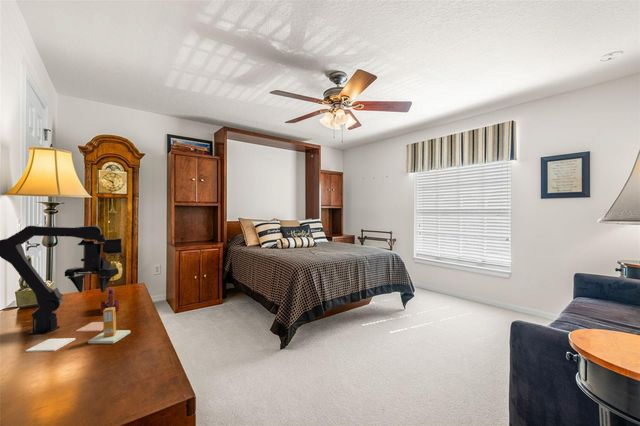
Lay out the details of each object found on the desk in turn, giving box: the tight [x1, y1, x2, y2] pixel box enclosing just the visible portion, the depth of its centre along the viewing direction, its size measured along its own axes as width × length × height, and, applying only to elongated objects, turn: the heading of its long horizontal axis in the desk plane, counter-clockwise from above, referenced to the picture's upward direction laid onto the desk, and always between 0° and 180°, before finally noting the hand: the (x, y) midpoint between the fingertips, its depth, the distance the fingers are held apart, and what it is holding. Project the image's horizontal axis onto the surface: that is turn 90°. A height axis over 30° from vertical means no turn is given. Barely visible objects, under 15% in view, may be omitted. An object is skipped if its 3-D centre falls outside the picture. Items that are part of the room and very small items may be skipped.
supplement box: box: [102, 307, 117, 337], centre depth 105 cm, size 3×3×10 cm
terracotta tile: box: [75, 321, 104, 333], centre depth 115 cm, size 9×9×1 cm
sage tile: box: [87, 329, 131, 344], centre depth 105 cm, size 9×9×1 cm
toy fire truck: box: [100, 286, 120, 314], centre depth 135 cm, size 7×12×10 cm, turn 38°
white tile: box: [25, 337, 76, 353], centre depth 99 cm, size 9×9×1 cm
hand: (91, 292), depth 119 cm, fingers open, 9 cm apart
